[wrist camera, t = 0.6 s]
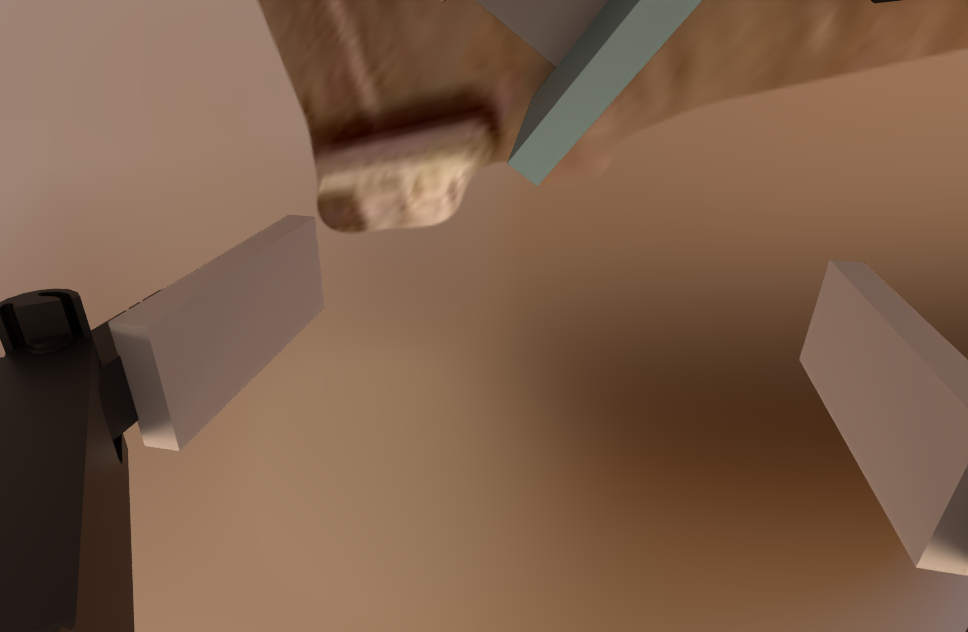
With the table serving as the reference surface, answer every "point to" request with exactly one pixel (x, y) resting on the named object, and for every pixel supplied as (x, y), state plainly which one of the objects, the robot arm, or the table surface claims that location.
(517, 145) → the backstop
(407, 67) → the table surface
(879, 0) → the puzzle toy
